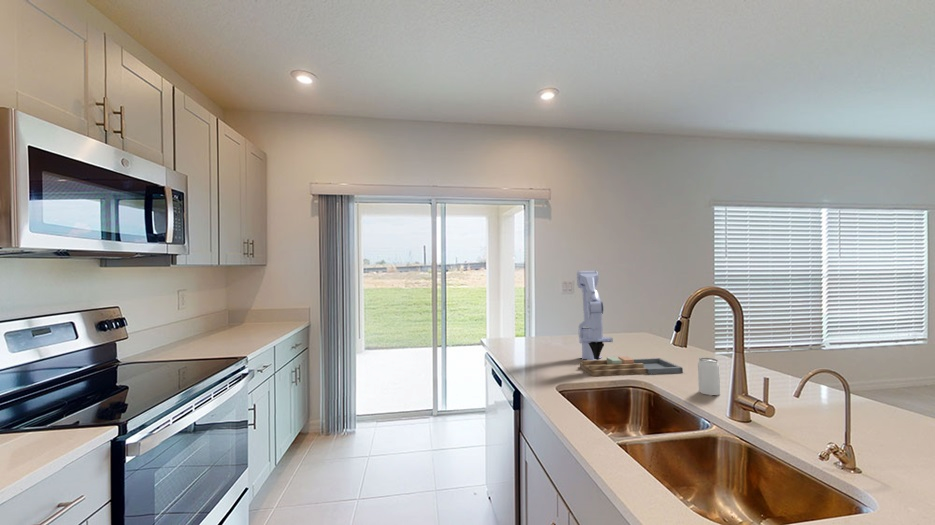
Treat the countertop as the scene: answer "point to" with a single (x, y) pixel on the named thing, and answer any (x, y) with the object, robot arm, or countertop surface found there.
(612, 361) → the pale green upright block
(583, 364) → the brown wooden rack
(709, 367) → the can
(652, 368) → the tray
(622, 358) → the salmon pink block
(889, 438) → the countertop surface
